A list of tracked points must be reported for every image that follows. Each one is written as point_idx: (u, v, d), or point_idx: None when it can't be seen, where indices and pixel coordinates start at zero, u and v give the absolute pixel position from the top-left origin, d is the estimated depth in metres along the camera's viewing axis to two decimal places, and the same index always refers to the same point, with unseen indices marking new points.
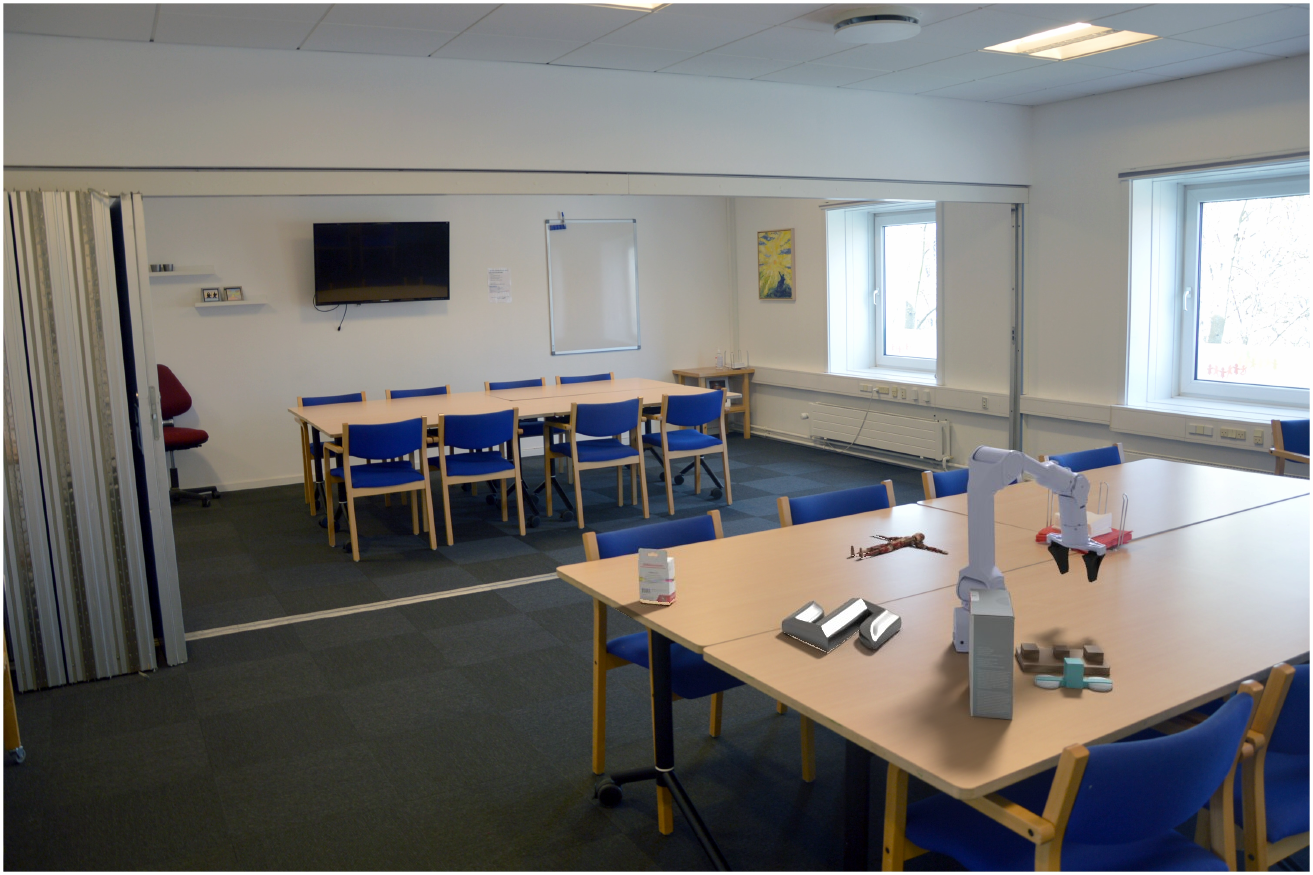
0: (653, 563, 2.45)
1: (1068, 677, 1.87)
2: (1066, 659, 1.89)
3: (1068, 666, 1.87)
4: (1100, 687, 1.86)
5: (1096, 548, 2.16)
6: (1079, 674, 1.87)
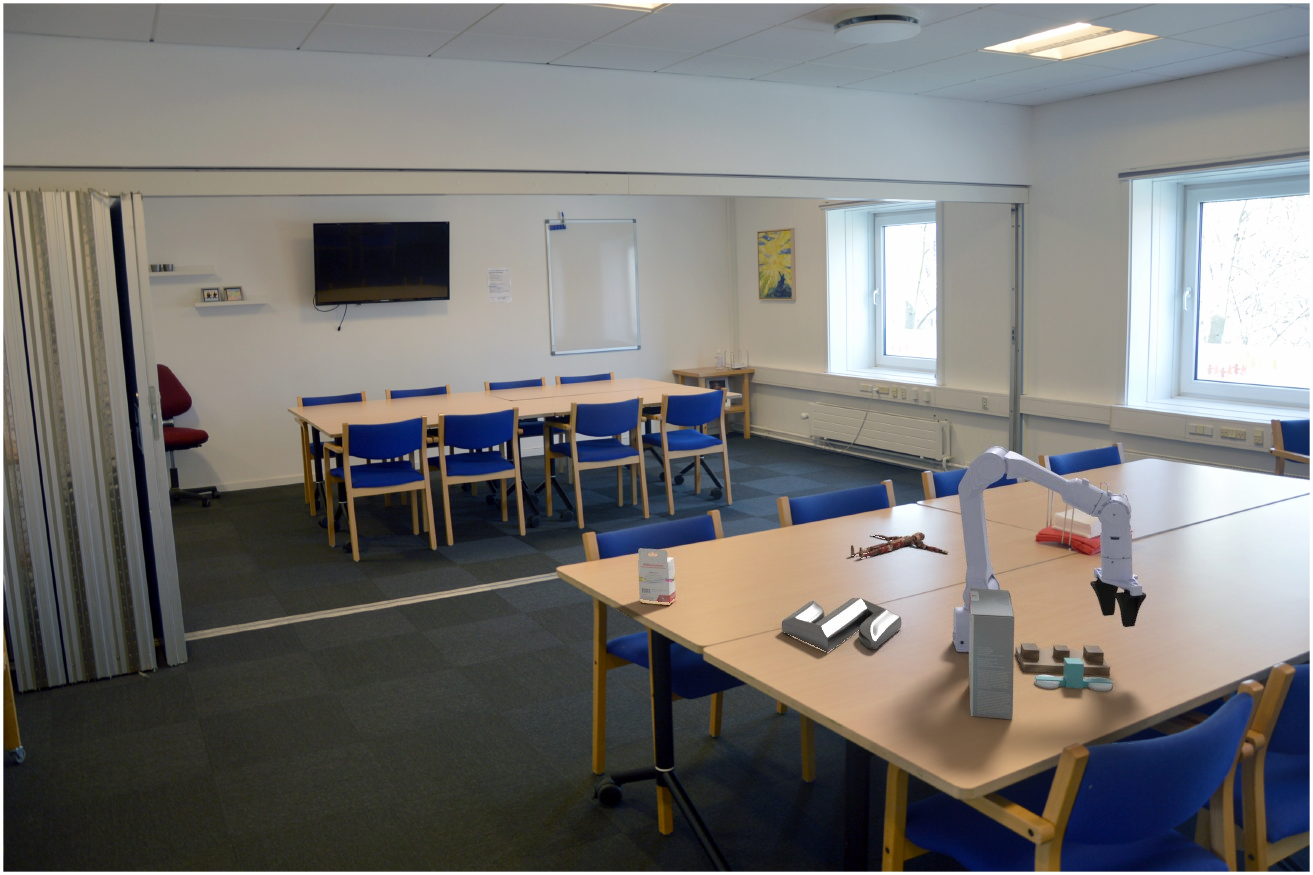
0: (653, 563, 2.45)
1: (1068, 677, 1.87)
2: (1066, 659, 1.89)
3: (1068, 666, 1.87)
4: (1100, 687, 1.86)
5: (1129, 587, 1.89)
6: (1079, 674, 1.87)
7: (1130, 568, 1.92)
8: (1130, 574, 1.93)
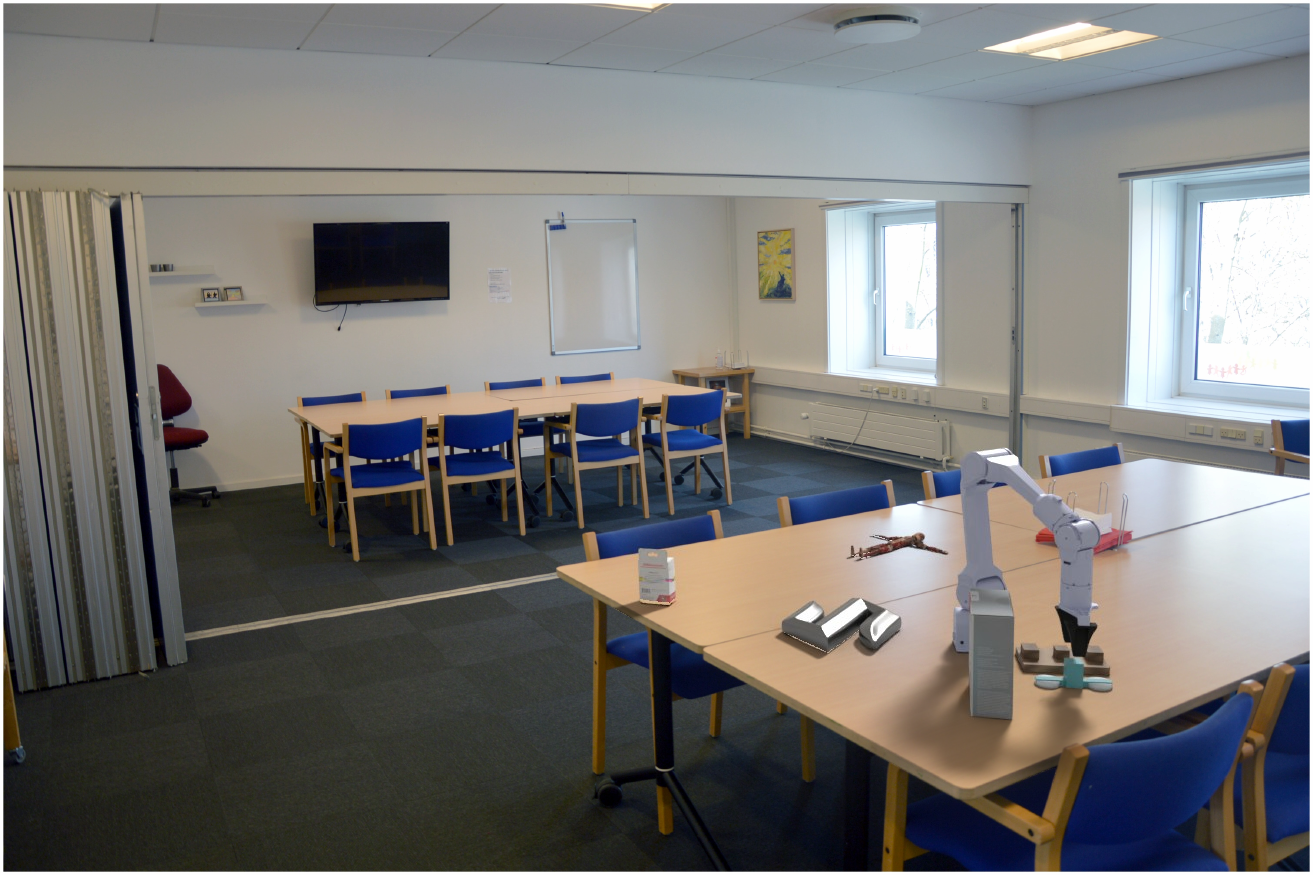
0: (653, 563, 2.45)
1: (1068, 677, 1.87)
2: (1066, 659, 1.89)
3: (1068, 666, 1.87)
4: (1100, 687, 1.86)
5: (1077, 615, 1.81)
6: (1079, 674, 1.87)
7: (1087, 597, 1.84)
8: (1086, 603, 1.84)
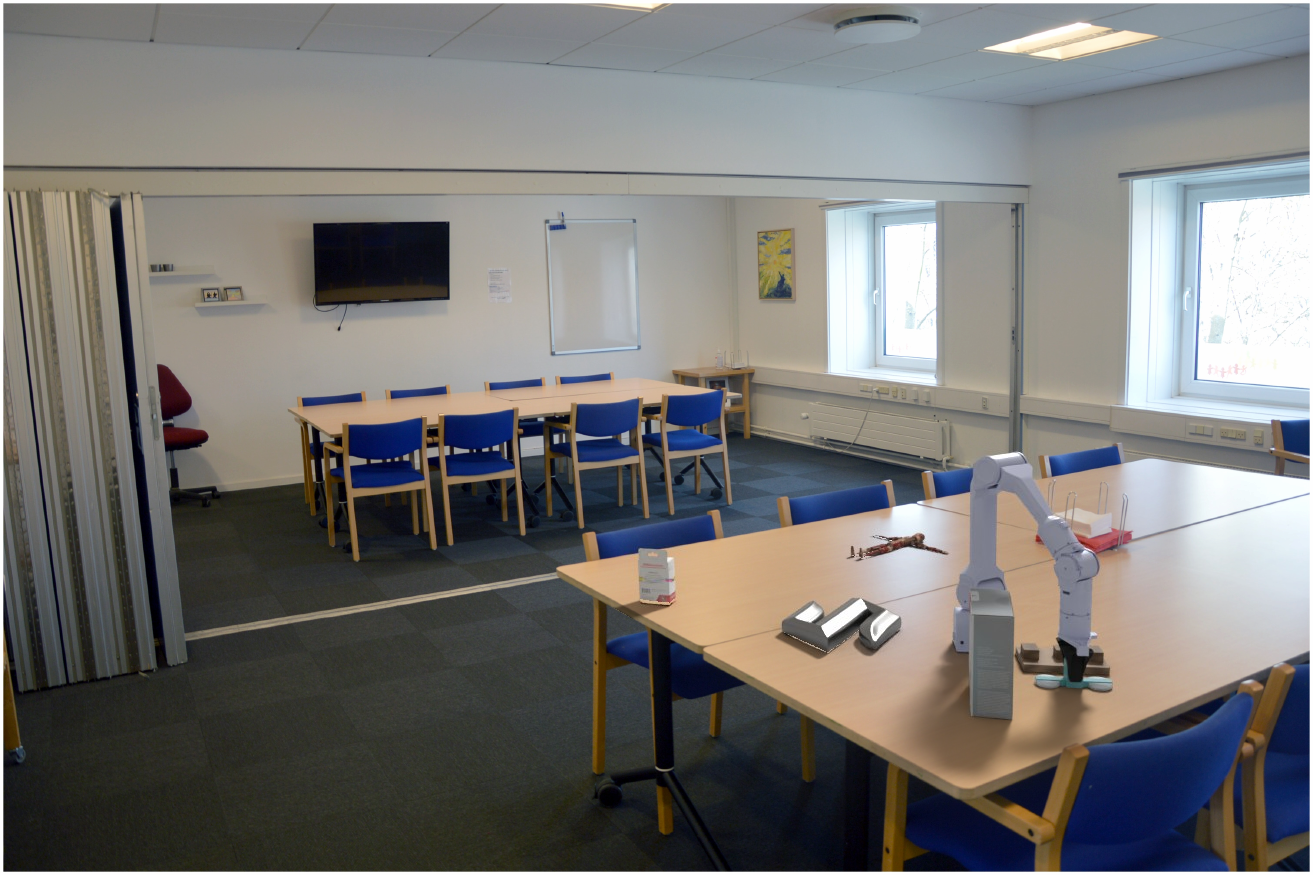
0: (653, 563, 2.45)
1: (1068, 677, 1.87)
2: None
3: None
4: (1100, 687, 1.86)
5: (1076, 646, 1.81)
6: None
7: (1086, 626, 1.84)
8: (1085, 633, 1.85)
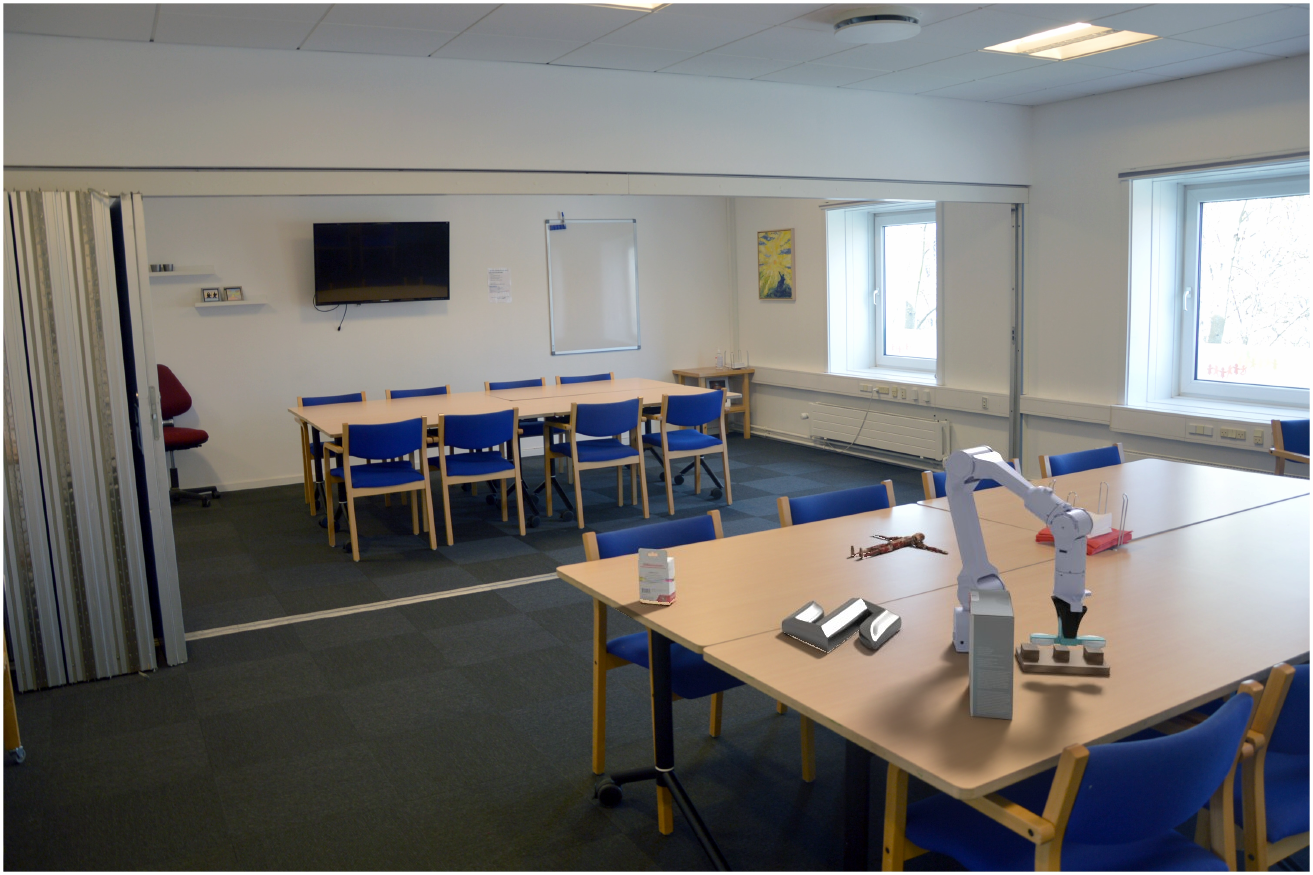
0: (653, 563, 2.45)
1: (1062, 635, 1.92)
2: None
3: None
4: (1093, 644, 1.90)
5: (1070, 602, 1.86)
6: None
7: (1080, 584, 1.89)
8: (1079, 590, 1.89)
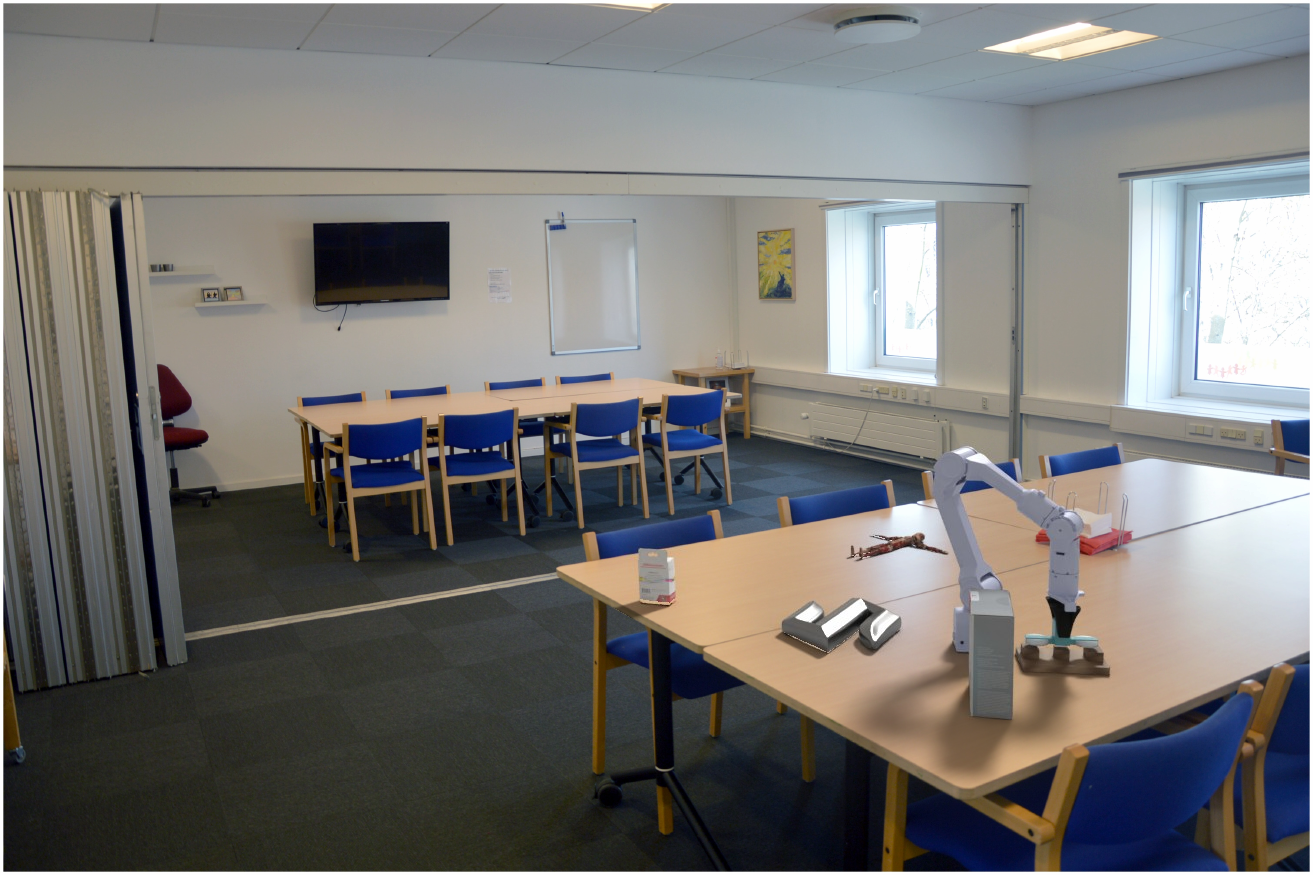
0: (653, 563, 2.45)
1: (1056, 635, 1.97)
2: (1054, 618, 1.99)
3: None
4: (1086, 644, 1.96)
5: (1064, 602, 1.91)
6: None
7: (1074, 584, 1.94)
8: (1073, 590, 1.95)
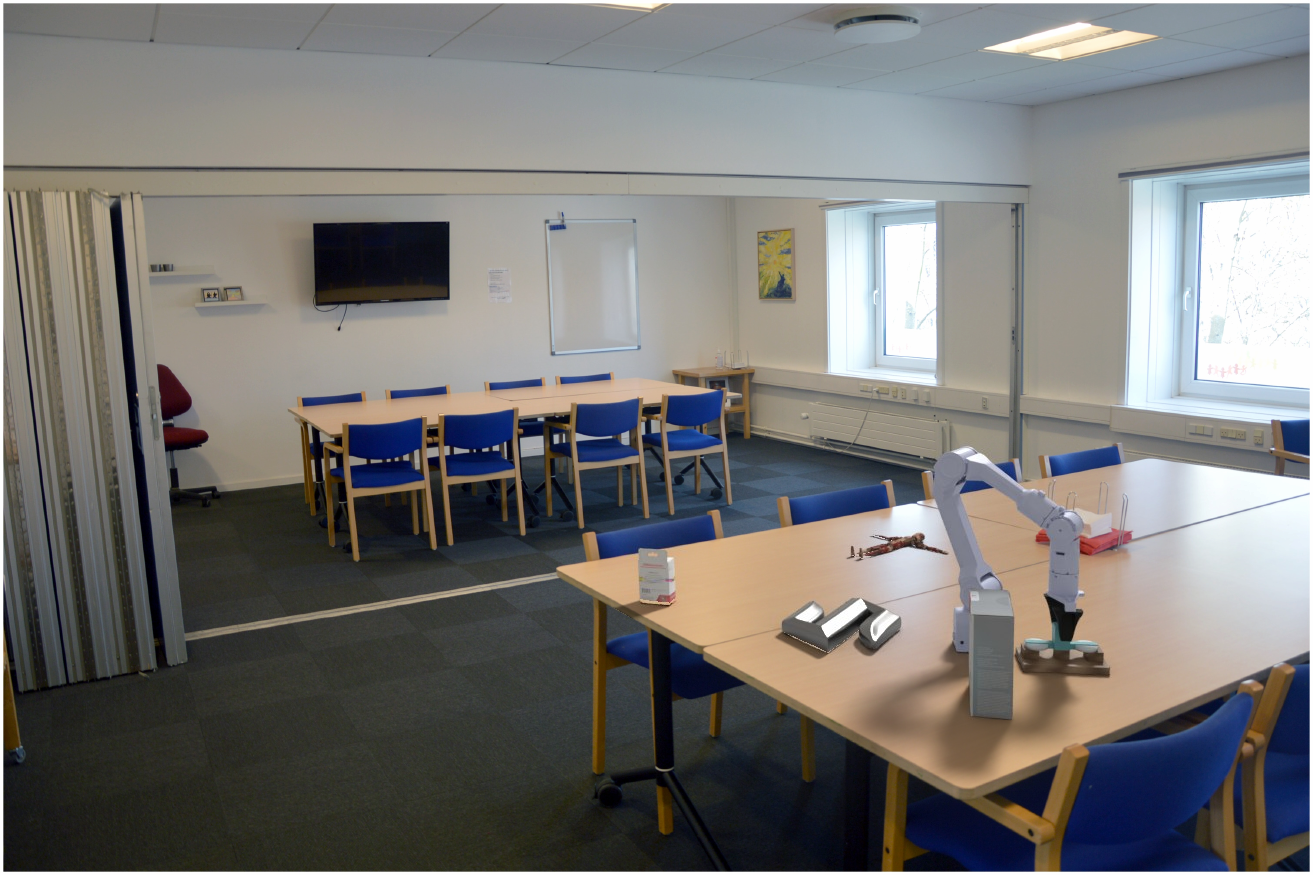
0: (653, 563, 2.45)
1: (1056, 640, 1.98)
2: (1054, 623, 1.99)
3: (1056, 629, 1.97)
4: (1086, 649, 1.96)
5: (1064, 602, 1.91)
6: None
7: (1074, 584, 1.94)
8: (1073, 590, 1.95)
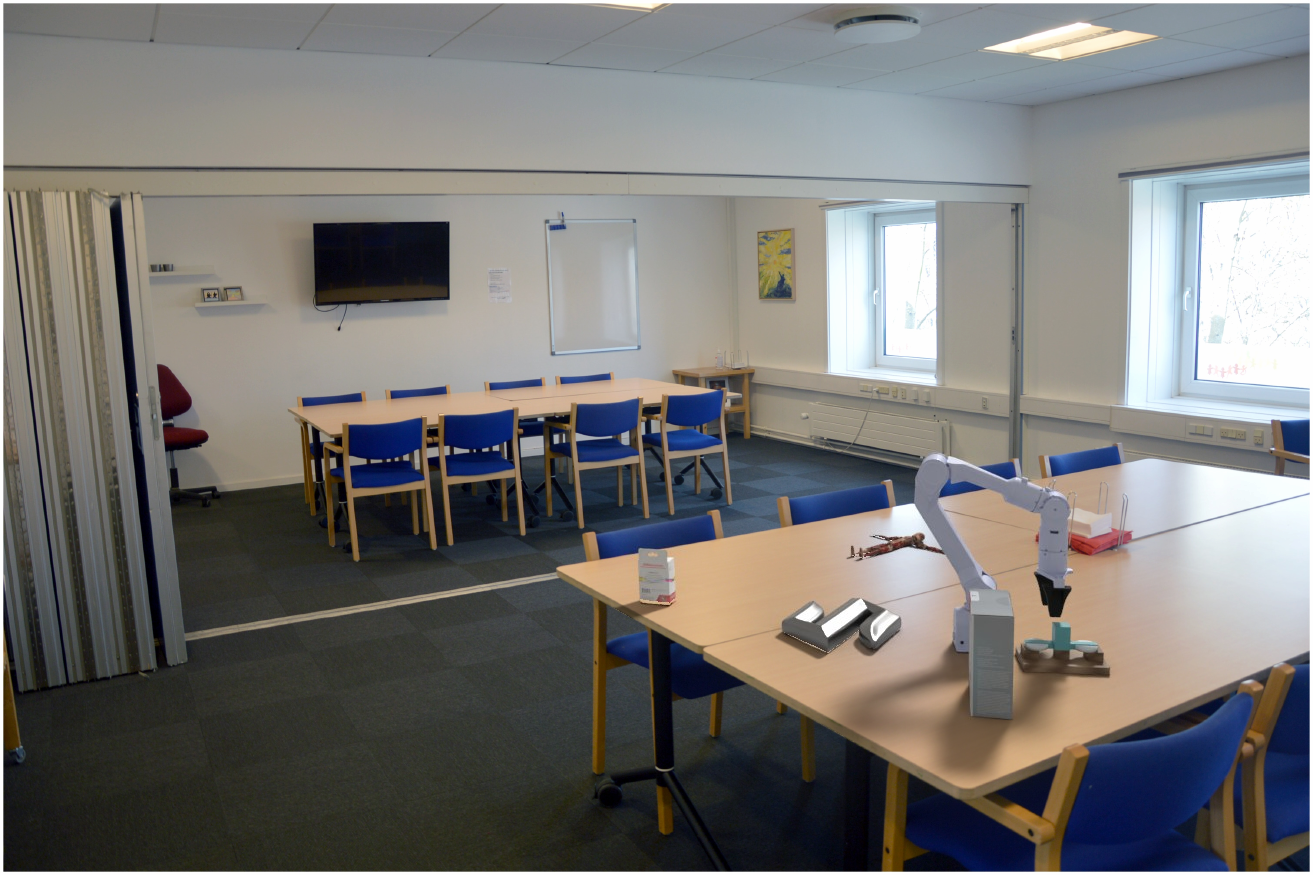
0: (653, 563, 2.45)
1: (1056, 640, 1.98)
2: (1054, 623, 1.99)
3: (1056, 629, 1.97)
4: (1086, 649, 1.96)
5: (1053, 579, 1.97)
6: (1066, 636, 1.97)
7: (1062, 562, 2.00)
8: (1062, 568, 2.00)
